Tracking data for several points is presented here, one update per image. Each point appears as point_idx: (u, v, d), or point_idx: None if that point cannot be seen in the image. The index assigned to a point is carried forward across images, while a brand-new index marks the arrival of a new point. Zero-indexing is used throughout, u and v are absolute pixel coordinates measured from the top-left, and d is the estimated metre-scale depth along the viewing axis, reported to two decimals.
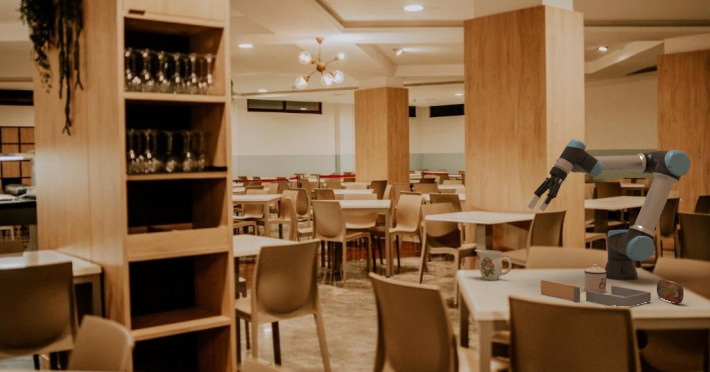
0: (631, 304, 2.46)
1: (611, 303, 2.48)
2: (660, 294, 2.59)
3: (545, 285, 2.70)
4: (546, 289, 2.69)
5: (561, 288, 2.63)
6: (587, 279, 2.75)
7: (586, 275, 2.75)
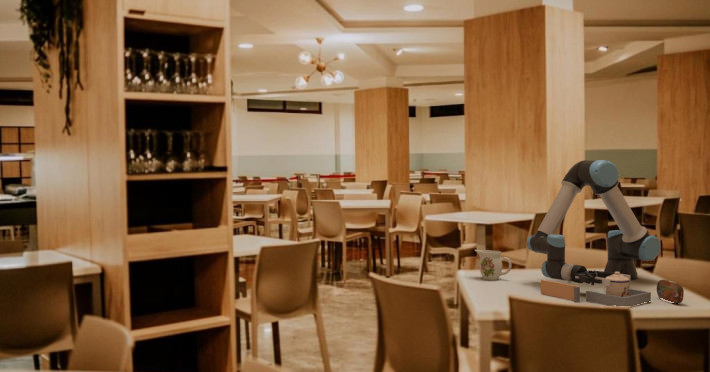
0: (631, 304, 2.46)
1: (611, 303, 2.48)
2: (660, 294, 2.59)
3: (545, 285, 2.70)
4: (546, 289, 2.69)
5: (561, 288, 2.63)
6: (608, 287, 2.52)
7: None
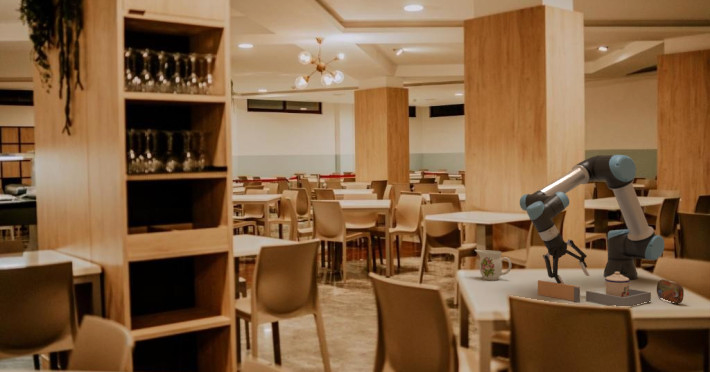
0: (631, 304, 2.46)
1: (611, 303, 2.48)
2: (660, 294, 2.59)
3: (542, 286, 2.69)
4: (544, 290, 2.68)
5: (560, 288, 2.62)
6: (608, 287, 2.52)
7: (607, 284, 2.53)
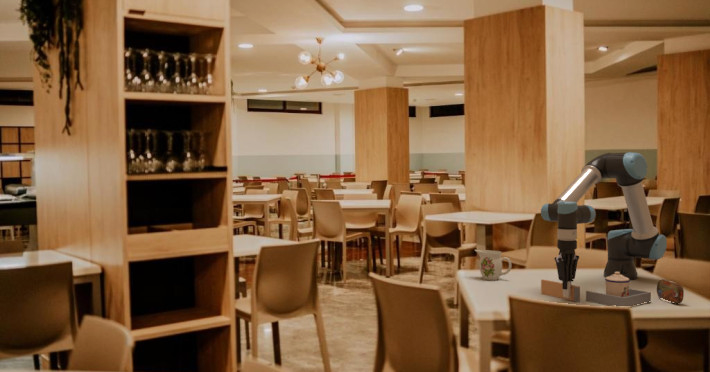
0: (631, 304, 2.46)
1: (611, 303, 2.48)
2: (660, 294, 2.59)
3: (545, 285, 2.70)
4: (546, 289, 2.70)
5: (561, 288, 2.63)
6: (608, 287, 2.52)
7: (607, 284, 2.53)
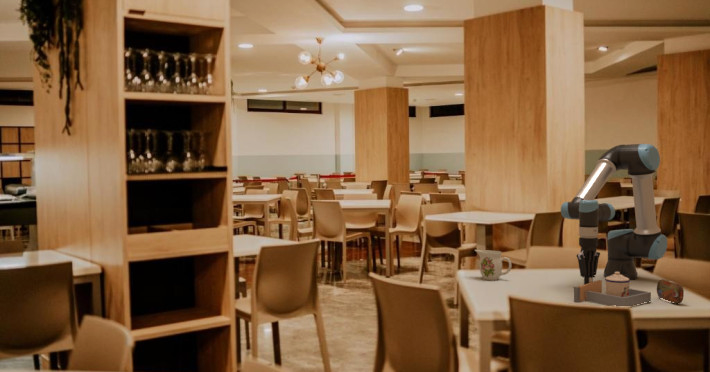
0: (631, 304, 2.46)
1: (611, 303, 2.48)
2: (660, 294, 2.59)
3: None
4: None
5: None
6: (608, 287, 2.52)
7: (607, 284, 2.53)
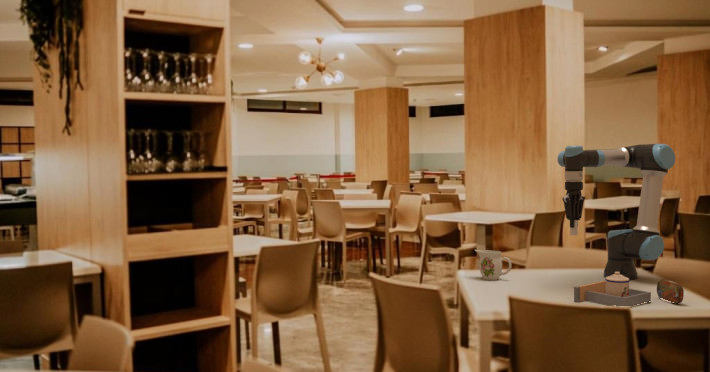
0: (631, 304, 2.46)
1: (611, 303, 2.48)
2: (660, 294, 2.59)
3: None
4: None
5: None
6: (608, 287, 2.52)
7: (607, 284, 2.53)
